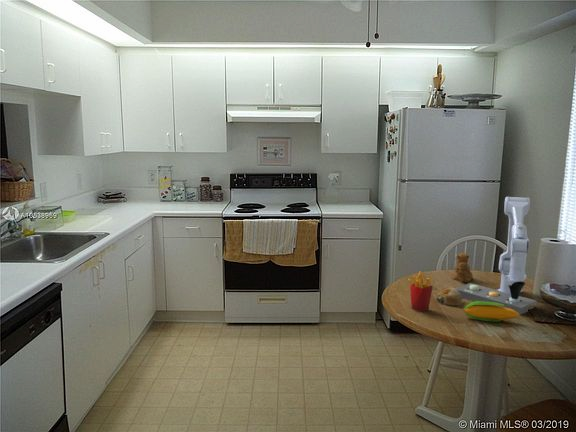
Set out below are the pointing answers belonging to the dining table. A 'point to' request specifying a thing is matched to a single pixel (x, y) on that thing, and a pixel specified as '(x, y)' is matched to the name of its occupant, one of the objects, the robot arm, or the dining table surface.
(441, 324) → the dining table surface
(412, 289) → the french fries
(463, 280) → the stuffed squirrel
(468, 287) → the button console
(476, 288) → the green button
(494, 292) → the orange button
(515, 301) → the blue button
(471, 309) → the corn
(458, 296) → the bread roll
